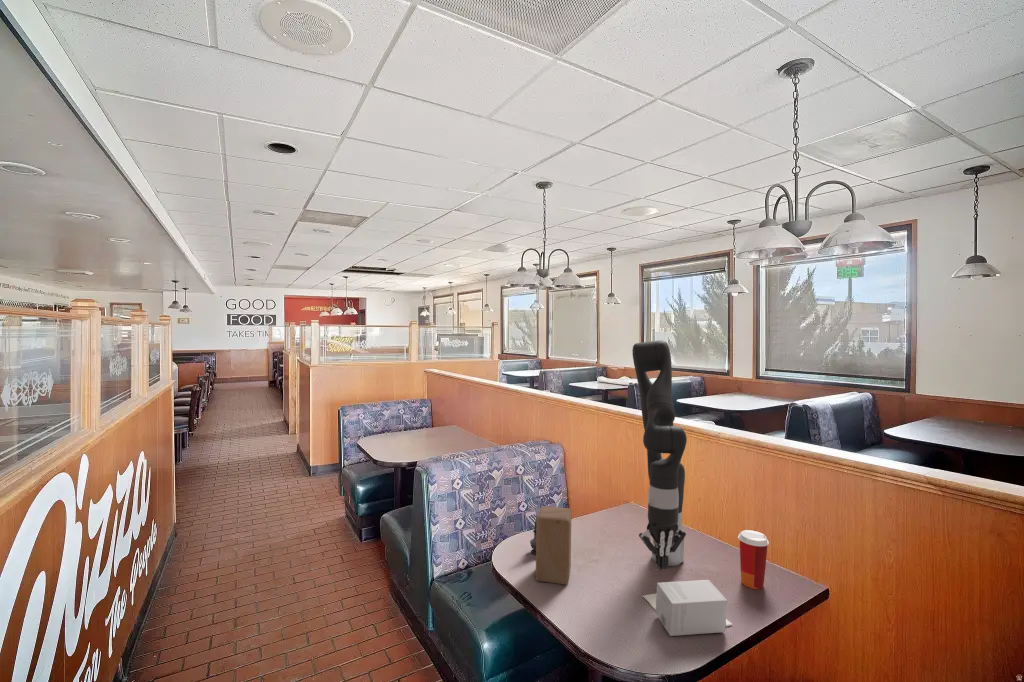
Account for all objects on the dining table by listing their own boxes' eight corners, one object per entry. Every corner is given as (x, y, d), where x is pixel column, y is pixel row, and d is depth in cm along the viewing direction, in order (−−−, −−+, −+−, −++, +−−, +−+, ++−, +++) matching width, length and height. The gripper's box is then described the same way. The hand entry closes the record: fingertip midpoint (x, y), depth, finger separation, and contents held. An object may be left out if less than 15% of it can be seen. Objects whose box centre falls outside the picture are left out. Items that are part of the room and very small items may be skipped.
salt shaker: (528, 548, 160) (529, 514, 160) (545, 548, 161) (545, 514, 160) (530, 556, 154) (531, 521, 154) (548, 556, 155) (548, 521, 155)
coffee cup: (764, 579, 142) (766, 531, 142) (770, 594, 134) (771, 543, 134) (734, 574, 145) (736, 527, 144) (738, 588, 137) (739, 538, 137)
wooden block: (568, 586, 137) (569, 520, 137) (535, 582, 139) (536, 517, 139) (570, 569, 147) (571, 507, 146) (539, 565, 149) (540, 504, 148)
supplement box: (670, 637, 115) (726, 633, 116) (671, 603, 114) (728, 600, 116) (654, 613, 124) (707, 609, 125) (656, 581, 123) (709, 578, 125)
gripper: (676, 494, 124) (675, 557, 125) (632, 499, 121) (631, 564, 122) (694, 505, 117) (692, 572, 118) (648, 510, 114) (647, 579, 114)
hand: (661, 567), depth 120 cm, fingers closed
